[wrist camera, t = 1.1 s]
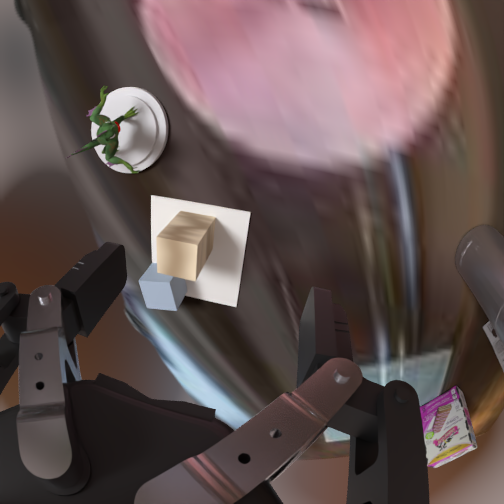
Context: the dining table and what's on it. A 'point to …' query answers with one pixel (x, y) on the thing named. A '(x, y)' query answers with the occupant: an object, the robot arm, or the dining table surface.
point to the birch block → (185, 245)
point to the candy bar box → (447, 428)
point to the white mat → (224, 247)
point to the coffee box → (495, 342)
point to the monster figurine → (128, 129)
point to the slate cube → (162, 289)
